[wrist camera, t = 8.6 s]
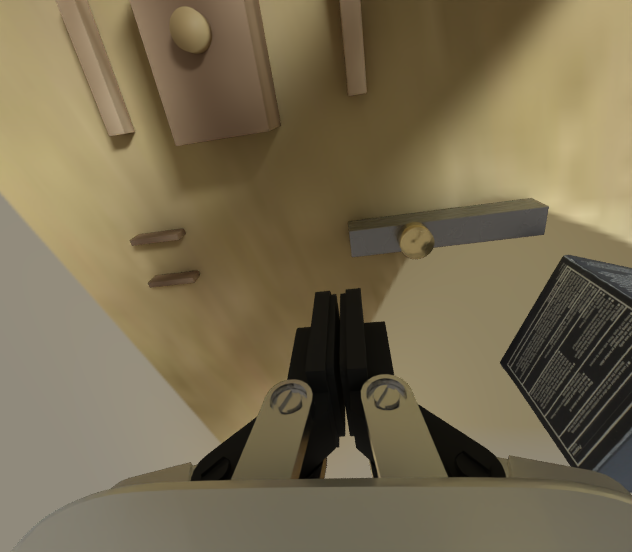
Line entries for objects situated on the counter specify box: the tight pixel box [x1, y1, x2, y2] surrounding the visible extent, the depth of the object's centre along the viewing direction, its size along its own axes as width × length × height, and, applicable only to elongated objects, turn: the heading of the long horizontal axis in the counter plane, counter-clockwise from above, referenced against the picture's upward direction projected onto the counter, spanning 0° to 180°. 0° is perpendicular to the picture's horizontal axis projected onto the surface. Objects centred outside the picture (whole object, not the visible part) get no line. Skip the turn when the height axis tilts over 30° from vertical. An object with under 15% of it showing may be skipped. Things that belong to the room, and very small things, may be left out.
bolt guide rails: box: [55, 0, 367, 136], centre depth 18 cm, size 16×7×1 cm, turn 98°
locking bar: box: [348, 198, 549, 259], centre depth 22 cm, size 12×2×3 cm, turn 98°
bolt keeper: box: [130, 228, 200, 288], centre depth 25 cm, size 4×4×1 cm
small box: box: [500, 255, 632, 493], centre depth 22 cm, size 11×6×10 cm, turn 169°
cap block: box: [130, 0, 281, 146], centre depth 17 cm, size 5×9×5 cm, turn 9°
